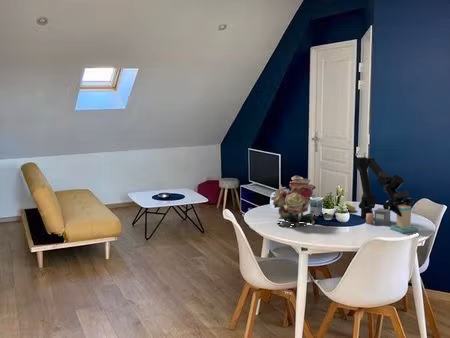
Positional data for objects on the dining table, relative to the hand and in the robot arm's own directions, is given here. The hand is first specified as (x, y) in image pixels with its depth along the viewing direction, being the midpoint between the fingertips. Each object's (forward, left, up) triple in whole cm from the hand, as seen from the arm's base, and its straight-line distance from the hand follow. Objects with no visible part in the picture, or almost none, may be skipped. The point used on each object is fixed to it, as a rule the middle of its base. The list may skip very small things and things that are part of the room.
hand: (405, 215), depth 290 cm
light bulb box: (-60, +10, -9) cm, 62 cm away
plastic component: (-53, +33, -9) cm, 63 cm away
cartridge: (-23, +5, -9) cm, 25 cm away
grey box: (-17, +10, -9) cm, 21 cm away
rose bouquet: (-62, -19, -9) cm, 65 cm away
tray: (0, 0, -9) cm, 9 cm away
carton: (-1, +1, -7) cm, 7 cm away
